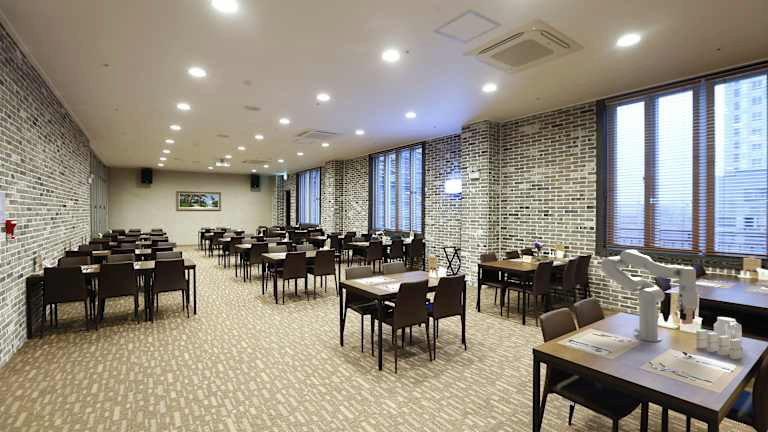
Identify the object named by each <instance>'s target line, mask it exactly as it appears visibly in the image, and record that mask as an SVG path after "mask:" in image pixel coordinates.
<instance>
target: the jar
mask: <svg viewBox="0 0 768 432" xmlns="http://www.w3.org/2000/svg"><path fill="white" fill-rule="evenodd" d="M716 318H717V319H716V322H715V323H714V324H713V333H718V336H725V335H726V333H725V325H726V322H734V323H737V320H736V319H735V318H732V317H726V316H717V317H716Z"/></svg>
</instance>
